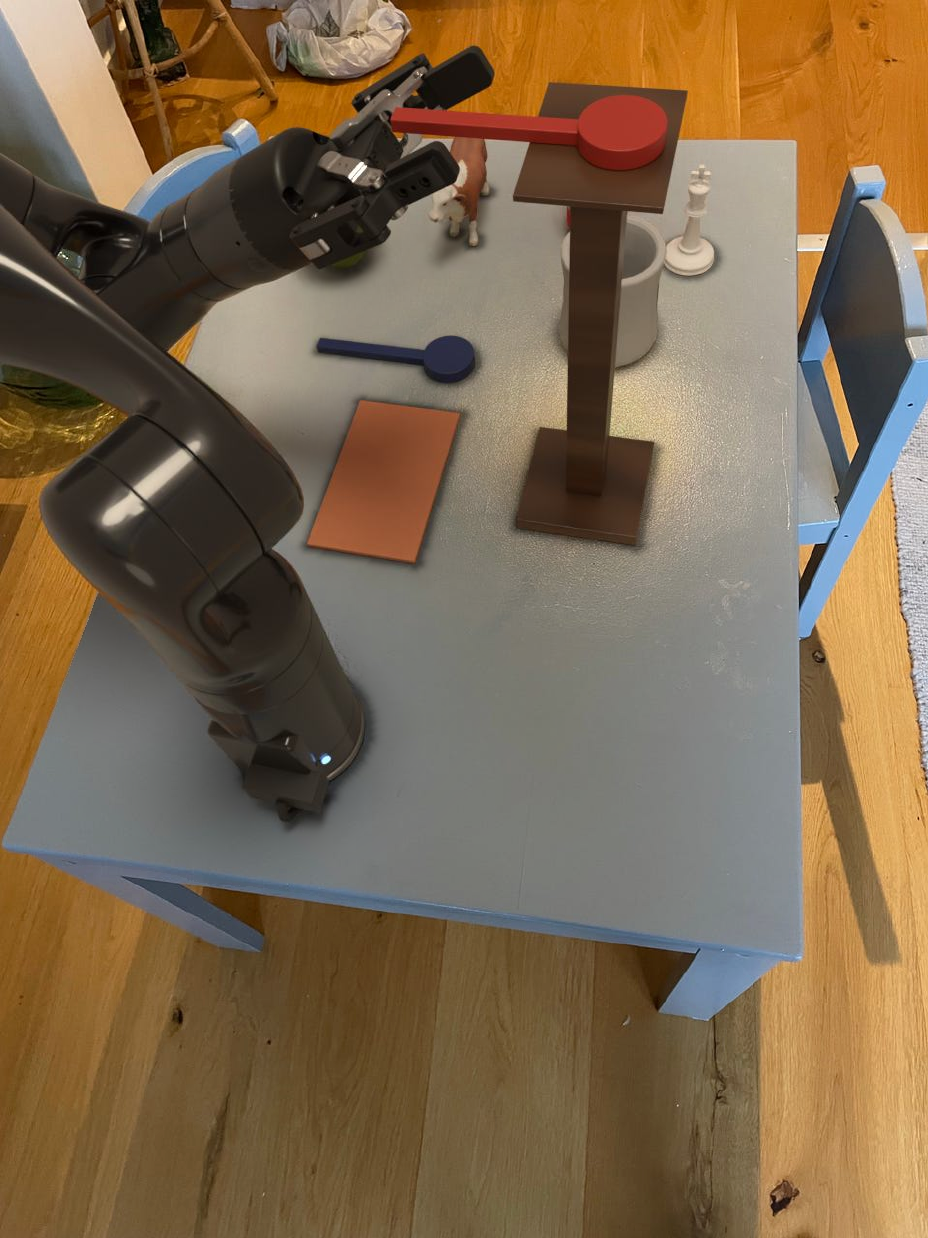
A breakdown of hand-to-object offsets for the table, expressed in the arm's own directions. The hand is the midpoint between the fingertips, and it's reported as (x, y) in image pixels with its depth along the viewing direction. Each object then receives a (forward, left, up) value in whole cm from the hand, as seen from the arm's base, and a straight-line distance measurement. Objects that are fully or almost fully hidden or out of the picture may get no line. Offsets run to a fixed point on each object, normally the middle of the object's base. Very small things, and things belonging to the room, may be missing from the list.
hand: (469, 108), depth 51 cm
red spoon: (0, -3, -1) cm, 3 cm away
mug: (+19, -5, -34) cm, 39 cm away
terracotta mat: (-2, +10, -33) cm, 35 cm away
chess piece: (+29, -12, -34) cm, 46 cm away
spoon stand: (0, -7, -33) cm, 34 cm away
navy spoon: (+12, +13, -33) cm, 38 cm away
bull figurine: (+31, +11, -34) cm, 47 cm away
